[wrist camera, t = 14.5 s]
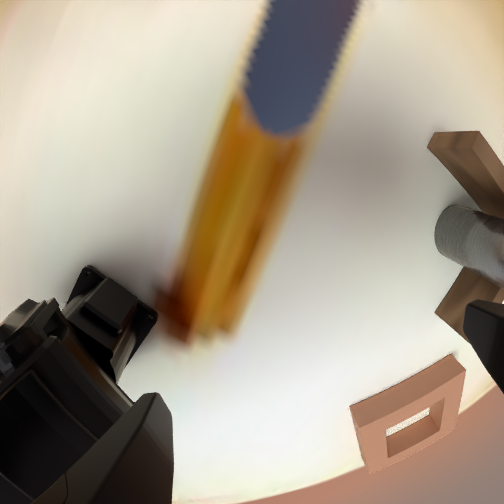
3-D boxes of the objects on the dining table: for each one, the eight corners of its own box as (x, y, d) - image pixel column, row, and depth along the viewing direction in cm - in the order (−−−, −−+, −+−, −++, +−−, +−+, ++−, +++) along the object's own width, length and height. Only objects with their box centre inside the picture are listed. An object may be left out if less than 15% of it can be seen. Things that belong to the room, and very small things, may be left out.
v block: (433, 322, 23) (464, 351, 18) (424, 133, 18) (469, 131, 13) (500, 289, 23) (531, 308, 18) (499, 129, 18) (538, 130, 13)
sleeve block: (361, 457, 28) (369, 474, 26) (349, 406, 25) (359, 427, 22) (443, 415, 28) (453, 430, 25) (450, 353, 24) (465, 369, 21)
